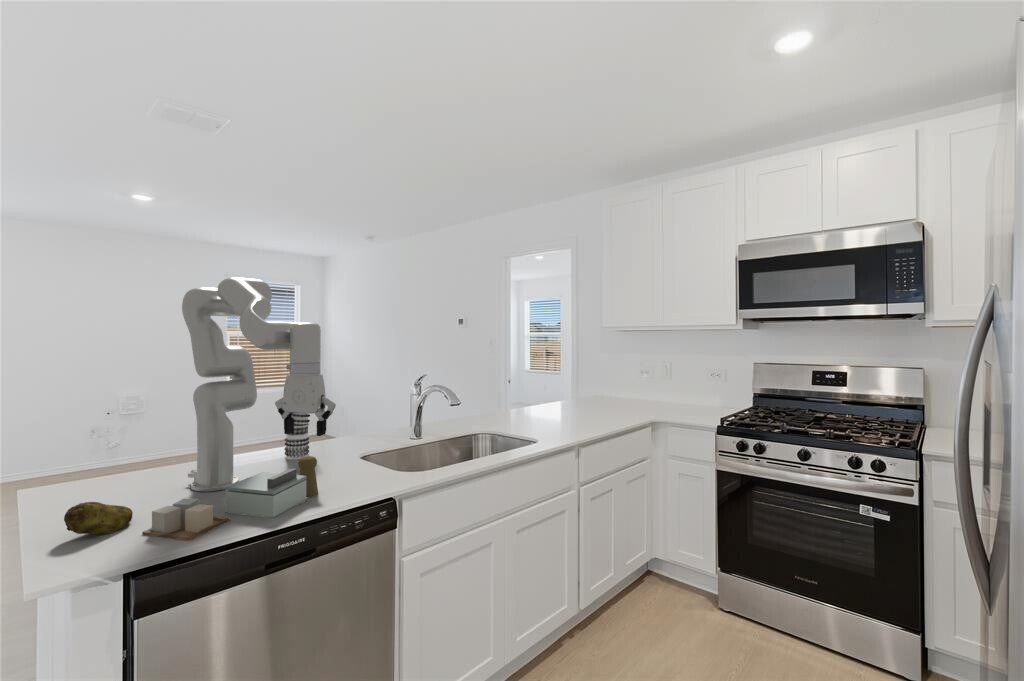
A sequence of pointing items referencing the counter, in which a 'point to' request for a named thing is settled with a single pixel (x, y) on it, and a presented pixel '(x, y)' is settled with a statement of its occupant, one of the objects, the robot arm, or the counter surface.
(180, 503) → the grey block
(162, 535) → the tray
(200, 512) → the sandstone block
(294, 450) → the decorative candle
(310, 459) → the cork
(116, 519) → the potato
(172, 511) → the grey block
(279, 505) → the bin
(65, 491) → the counter surface
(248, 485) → the lid
